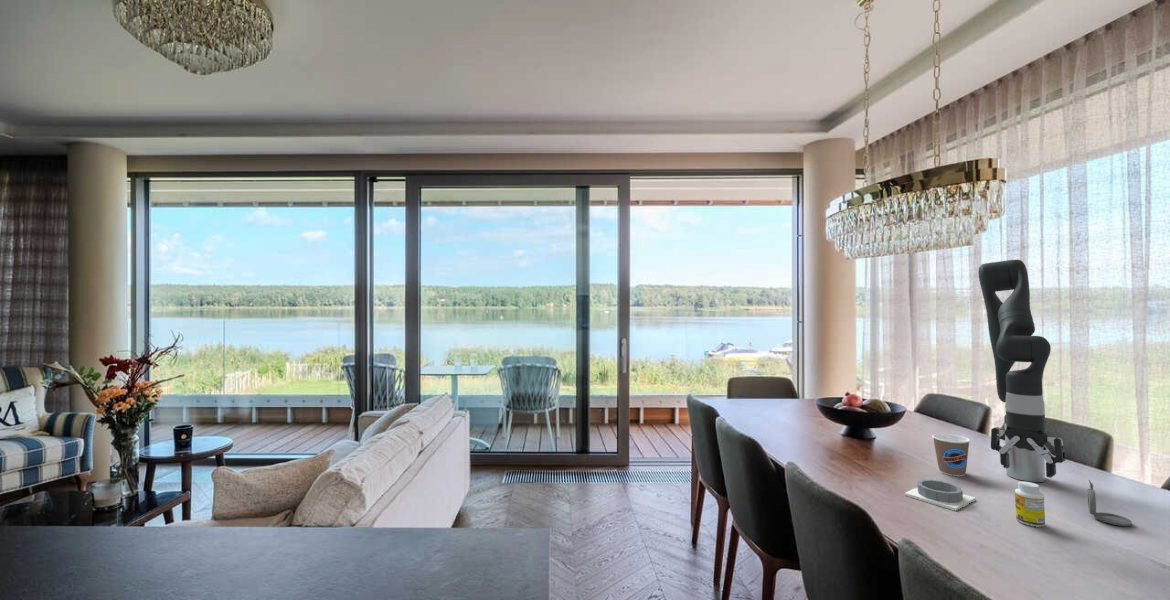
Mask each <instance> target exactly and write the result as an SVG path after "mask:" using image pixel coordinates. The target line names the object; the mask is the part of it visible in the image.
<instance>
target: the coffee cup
mask: <svg viewBox="0 0 1170 600" xmlns="http://www.w3.org/2000/svg"><path fill="white" fill-rule="evenodd" d="M931 437H932V439H933V444H934V449H935V454H936V455H935V456H936V461H937V466H938V470H939V472H940V473H942V474H945V475H947V476H952V475H953V476H954V477H963V476H966V473H967V468H968V466H967V465H968V457H969V447H970V442H971V439H970V438H968V437H966V436H962V435H957V434H951V433H949V434H948V433H935V434H932V436H931ZM953 476H952V477H953Z"/></svg>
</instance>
